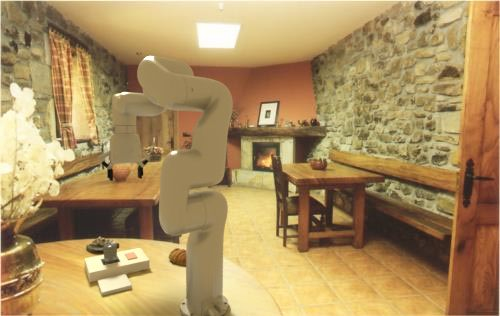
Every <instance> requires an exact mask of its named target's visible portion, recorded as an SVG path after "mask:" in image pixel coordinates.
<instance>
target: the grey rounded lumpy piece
mask: <svg viewBox="0 0 500 316" xmlns="http://www.w3.org/2000/svg"><path fill="white" fill-rule="evenodd" d="M107 244H116V245H117V250H118V249H120V243H119V242H117V241H116V240H114V239H109V238H105V237H102V236H99V237H97V238H95V239H94V240H92V242H91V243H89V244H87V245H86V248H85V249H86V251H88V252H90V253H93V254H96V255H97V254H100V255H104V248H103V247H104V246H105V245H107Z"/></svg>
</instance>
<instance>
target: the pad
mask: <svg viewBox="0 0 500 316" xmlns="http://www.w3.org/2000/svg"><path fill="white" fill-rule="evenodd" d="M97 286H98V289H99V292H100V295H101V296H102V297H103V296H107V295H110V294H115V293H118V292H122V291H126V290H131V289H132V288H133V287H132V283H131V282H130V279H129V277H128V276H127V274H123V275H119V276H115V277H110V278H106V279H102V280H98V281H97Z"/></svg>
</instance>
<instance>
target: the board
mask: <svg viewBox="0 0 500 316" xmlns="http://www.w3.org/2000/svg"><path fill="white" fill-rule="evenodd" d="M84 269H85V271H86V276H87V279H88V282H89V283H92V282H98V280H102V279H106V278H110V277H115V276H119V275H123V274H126V275H128V274H132V273H133V274H134V273H137V272H140V271H141V272H142V271H145V270H149V269H150V259H149V257H148V256H147V255H146V253H145V252H144V251H143V250H142V248H141V247H137V248H132V249H127V250H121V251H117V263H112V264H107V265H104V254H100V255H96V256H89V257H85V258H84Z"/></svg>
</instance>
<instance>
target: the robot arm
mask: <svg viewBox="0 0 500 316" xmlns="http://www.w3.org/2000/svg"><path fill="white" fill-rule="evenodd" d="M136 74H137V75H136V77H137V81H138V83H139V85H140V87H141V88H142V92H133V91H132V92H130V91H129V92H128V91H123V92H121V93H116V94H113V96H112V98H111V99H112V100H111V103H112V105H111V106H112V107H111V108H112V126H108V129H107V130H108V132H111V133H112V134H110V140H109V148H108V149H109V150H108V151H106V152H104V153H102V154H100V155H98V156H97V159H98V161H99V162H100V163H101V165H102V166H104V167H105V168H106V172H107V173H106V174H107V176H106V177H107V179H109V181H110V182H113V181H114V170H113V167H114V166H115V165H116V164H117V165H121V164H137V165H138V166H137V178H138V179H139V180H140V179H141V180H142V179H143V176H144V167H145V166H146V165H147V163H148V162H149V160H150V159H151V156H152V155H151V154H149V153H147V152H145V151H143V150H142V146H141V139H140V135H139V134H137V117H156V116H160V115H161V114H162V113H164V112H166V111H167V110H169V111H178V112H179V111H183V112H201V113H202V114H201V116H199V118H198V120H197V122H196V123H195V125H194V127H193V130H192V140H191V147H190V148H188V149H186V148H185V149H176V150H173V151H170V152H169V153H168V154H166V155H165V157H164V159H163V160H162V163H161V167H160V177H159V201H158V204H159V205H158V218H159V219H158V220H159V223H160V224H159V225H160V227H161V228H162V230H163V232H164V233H165V234H166V235H169V236H173V237H177V236H183V235H186V234H188V237H187V239H186V246H185V247H186V248H185V250H186V265H185V267H186V268H185V274H186V275H185V278H186V279H185V280H186V281H185V285H186V286H185V287H186V288H185V291H186V292H185V297H184V298H183V299H182V301H181V302H180V307H179V310H180V313H181V315H182V316H224V315H226V313H227V311H228V310H229V300H228V298H227V297H226V296H225V295H224V293H223V292H224V289H223V288H224V287H223V285H224V282H223V281H224V280H223V279H224V238H225V237H224V236H225V228H226V223H227V218H228V210H229V205H228V201H227V199H226V197H225V195H224V194H223V193H221V192H220V191H218V190H216V189H202V190H196V191H195V190H194V189H201V188H207V187H212V186H216V185H218V184H219V183H221V182H222V181H223V179H224V176H225V172H226V160H227V147H228V135H229V127H230V123H231V119H232V114H233V106H234V105H233V104H234V102H233V96H232V93H231V92H230V89H229V88H228V86H226V85H225V84H224V83H223V82H221V81H219V80H215V79H213V78H208V77H203V76H197V75H196V76H195V75H194V74H195V73H194V71H193V69H192V67H191V66H190V65H189V64H188V63H186V62H184V61H182V60H179V59H174V58H167V57H162V56H157V55H149V56H146V57H145V58H143V59H142V60H141V61H140V63H139V64H138V67H137V71H136ZM107 157H108V158H109V162H108V163H107V162H106V160H105V158H107ZM142 157H144V159H143V160H142ZM190 190H194V191H190Z"/></svg>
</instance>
